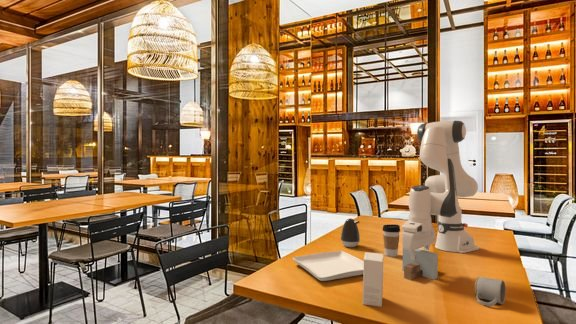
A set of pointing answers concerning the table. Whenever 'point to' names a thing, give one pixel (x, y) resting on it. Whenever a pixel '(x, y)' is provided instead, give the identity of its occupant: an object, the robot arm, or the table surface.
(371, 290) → the skincare box
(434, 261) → the grey flat block
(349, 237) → the pump dispenser
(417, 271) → the walnut rail
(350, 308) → the table surface
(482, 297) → the ceramic mug
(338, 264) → the square plate
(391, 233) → the coffee cup
